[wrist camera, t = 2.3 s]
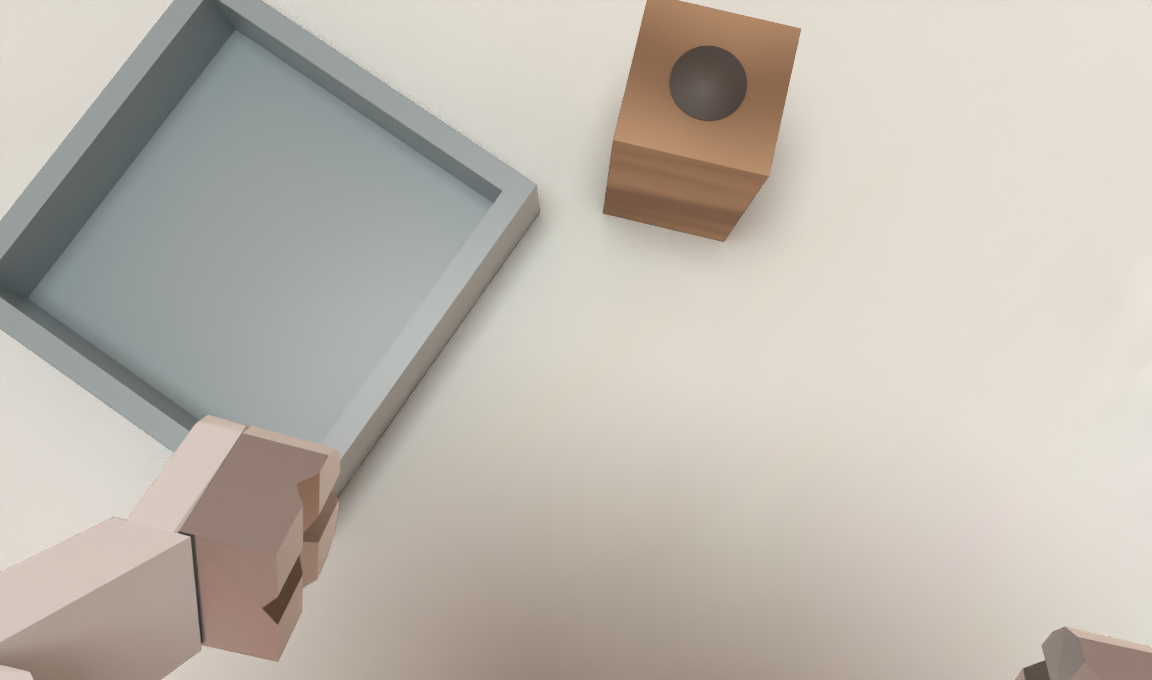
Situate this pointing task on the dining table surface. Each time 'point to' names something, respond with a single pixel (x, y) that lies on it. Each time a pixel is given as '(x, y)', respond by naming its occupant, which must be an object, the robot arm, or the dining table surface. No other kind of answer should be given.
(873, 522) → the dining table surface
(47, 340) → the tray
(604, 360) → the dining table surface
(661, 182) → the walnut block
